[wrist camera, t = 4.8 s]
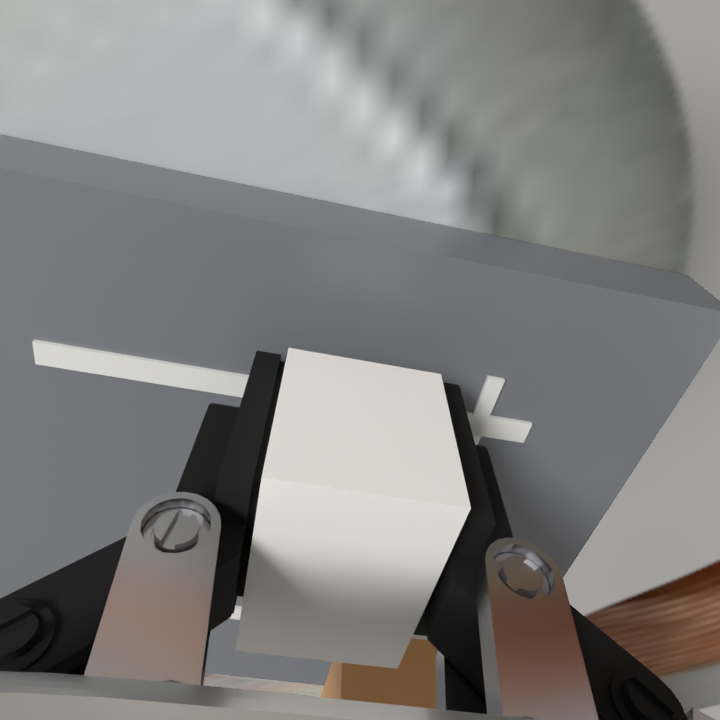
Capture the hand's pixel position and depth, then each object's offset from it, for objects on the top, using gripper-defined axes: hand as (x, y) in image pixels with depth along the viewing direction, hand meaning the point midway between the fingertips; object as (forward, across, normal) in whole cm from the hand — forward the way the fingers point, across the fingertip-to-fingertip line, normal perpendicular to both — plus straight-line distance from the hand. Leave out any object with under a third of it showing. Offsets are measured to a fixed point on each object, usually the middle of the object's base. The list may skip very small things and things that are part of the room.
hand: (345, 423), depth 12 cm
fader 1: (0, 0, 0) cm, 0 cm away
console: (+3, +1, +4) cm, 5 cm away
